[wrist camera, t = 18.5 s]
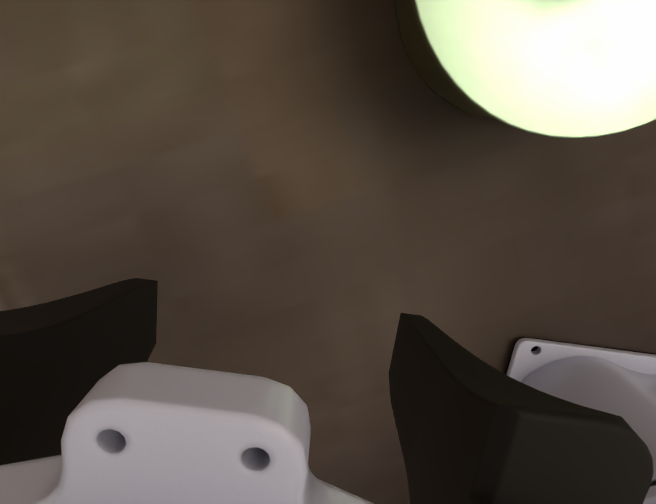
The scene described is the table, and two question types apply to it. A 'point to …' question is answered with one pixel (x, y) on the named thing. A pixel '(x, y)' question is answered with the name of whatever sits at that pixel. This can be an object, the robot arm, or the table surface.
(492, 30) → the lid
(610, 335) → the table surface
